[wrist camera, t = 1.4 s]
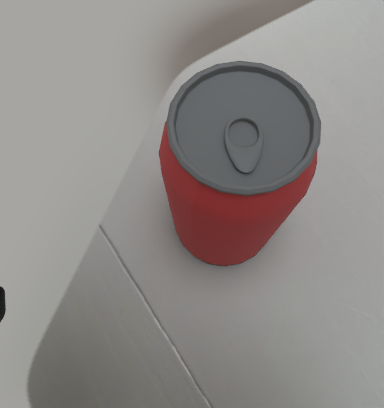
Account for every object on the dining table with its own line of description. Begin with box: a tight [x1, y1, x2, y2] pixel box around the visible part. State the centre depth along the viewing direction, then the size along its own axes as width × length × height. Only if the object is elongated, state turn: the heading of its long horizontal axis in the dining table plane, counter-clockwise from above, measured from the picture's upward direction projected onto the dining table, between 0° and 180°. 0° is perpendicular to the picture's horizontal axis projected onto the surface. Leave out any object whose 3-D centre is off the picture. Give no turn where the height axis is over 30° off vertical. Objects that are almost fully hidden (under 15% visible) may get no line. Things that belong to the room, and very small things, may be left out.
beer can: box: [159, 61, 321, 266], centre depth 18 cm, size 7×7×12 cm
